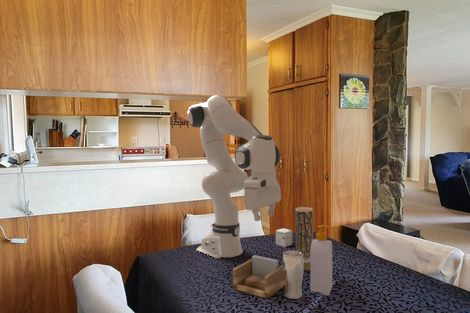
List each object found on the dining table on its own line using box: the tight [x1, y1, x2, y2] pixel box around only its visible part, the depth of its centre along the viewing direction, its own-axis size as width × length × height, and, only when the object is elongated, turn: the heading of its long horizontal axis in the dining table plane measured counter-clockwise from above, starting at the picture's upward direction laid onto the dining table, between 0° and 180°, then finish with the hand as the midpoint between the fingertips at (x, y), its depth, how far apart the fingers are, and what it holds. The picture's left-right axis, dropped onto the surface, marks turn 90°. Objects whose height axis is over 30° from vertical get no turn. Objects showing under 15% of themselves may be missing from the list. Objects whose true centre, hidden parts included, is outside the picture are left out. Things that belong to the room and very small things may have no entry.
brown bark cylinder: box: [295, 206, 314, 271], centre depth 140 cm, size 7×7×25 cm
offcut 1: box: [245, 275, 264, 288], centre depth 121 cm, size 8×4×2 cm, turn 59°
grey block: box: [251, 254, 279, 278], centre depth 126 cm, size 10×2×9 cm, turn 55°
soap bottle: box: [309, 224, 333, 296], centre depth 121 cm, size 9×7×23 cm
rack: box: [232, 258, 285, 299], centre depth 123 cm, size 14×14×8 cm
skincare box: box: [275, 228, 293, 248], centre depth 173 cm, size 6×6×7 cm
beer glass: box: [282, 250, 305, 300], centre depth 116 cm, size 7×7×15 cm
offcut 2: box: [244, 282, 264, 291], centre depth 122 cm, size 9×4×2 cm, turn 55°
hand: (264, 217), depth 125 cm, fingers open, 8 cm apart
